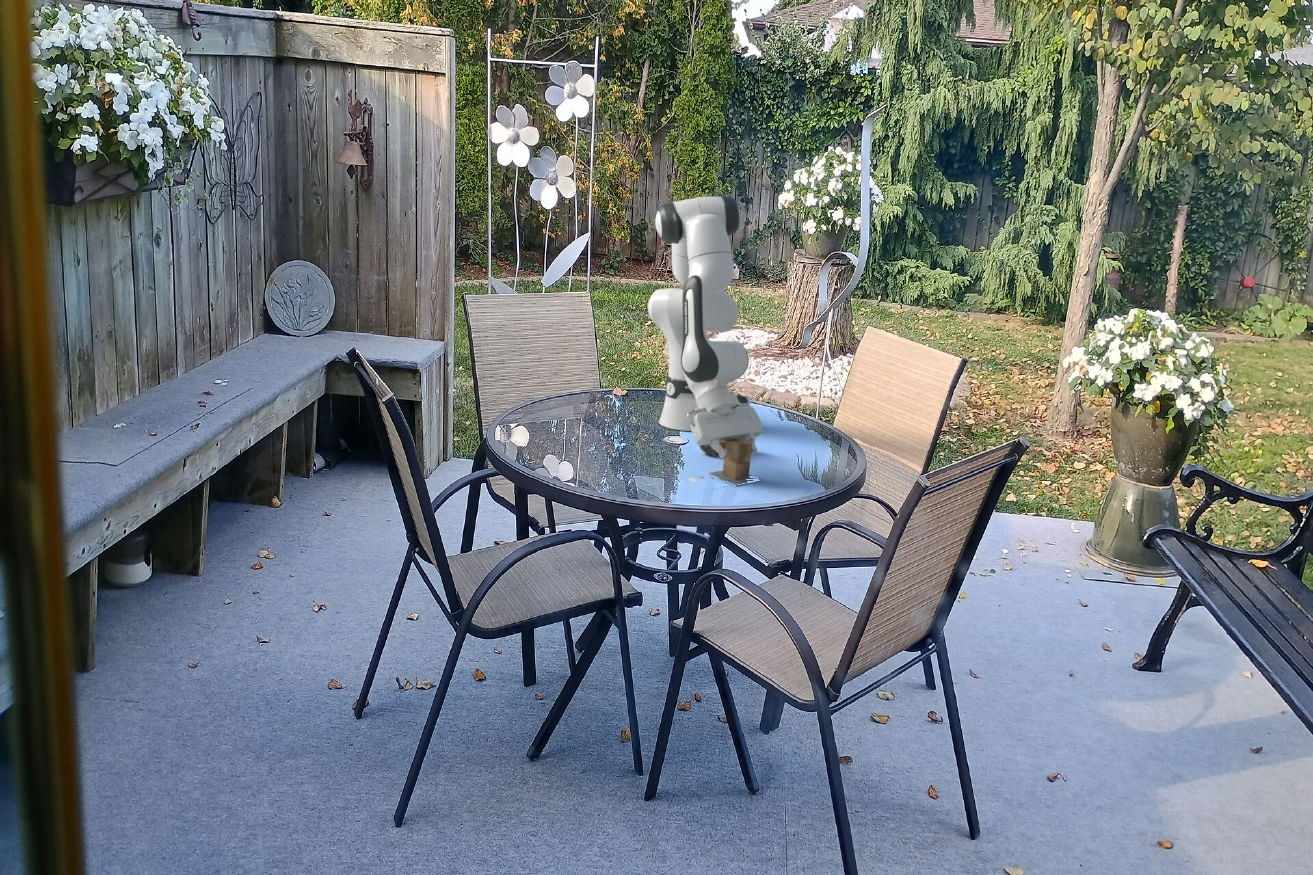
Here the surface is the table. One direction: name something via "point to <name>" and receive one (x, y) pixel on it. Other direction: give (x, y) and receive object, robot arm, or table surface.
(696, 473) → the table surface
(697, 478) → the placard
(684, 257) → the robot arm
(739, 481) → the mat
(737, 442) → the walnut block
